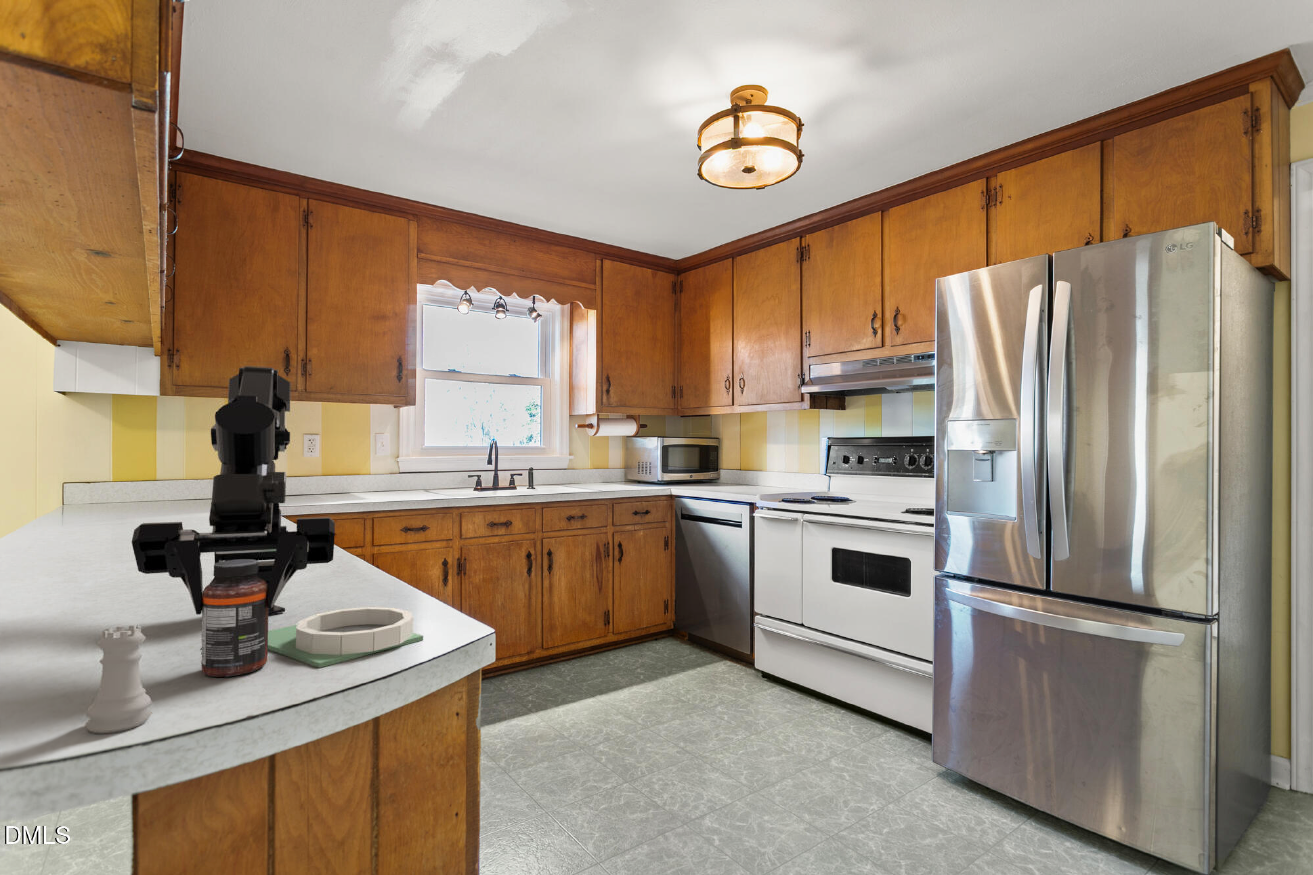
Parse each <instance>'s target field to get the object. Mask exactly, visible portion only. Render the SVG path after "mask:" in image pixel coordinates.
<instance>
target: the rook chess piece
mask: <svg viewBox="0 0 1313 875" xmlns="http://www.w3.org/2000/svg"><path fill="white" fill-rule="evenodd" d="M124 628H125V627H124V625H121V626H120V625H119V626H116V628H115V629H116V630H115V631H116V632H114V631H113V630H114V629H113V628H112V627H110V628H106V629H104V630H103V631H102V637H101V638H100V639H99V640H98V641H97V643H96V645H97V647H98V648H99V649H100V650H101V652H103V656H102V658H101V659H100V660H99V663H100V664H101V665H102V670H101V671H102V674H101V678H100V682H99V683H100V685H99V689H98V691H97V694H96V696H95V697H94V698H93V703H92V704H91V705H90V706H89V707H88V708H87V711H86V717H88V718H89V720H88V721H86V723H85V724H84V726H85V728H86V730H88V731H89V732H90V733H92V734H96V735H97V734H100V735H101V734H102V735H106V734H107V735H108V734H115V733H120V732H125V731H128V730H132V729H134V728H135V729H136V728H138V727H139V726H142V725H143V724H145V723H146V722H147V721H148V720H149V719H150V718H151V716H152V714H153V711H152V709H150V706H151V704H153V703H152V699H151V697H150V695H148V694H147V693H146V692H147V690H146V688H144V687H143V684H142V680H141V674H140V659H142V657H143V655H142V654H141V653H140V646H142V644H143V642H144V641H145V640H146V639H147V638H146V636H145V635H144V634H143V633H142V632H141V631H142V627H141V626H140V625H138V626H137V625H135V624H134V625H133V624H132V625H131V624H130V625H129V626H128V630H124Z"/></svg>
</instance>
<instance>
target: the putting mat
mask: <svg viewBox="0 0 1313 875" xmlns="http://www.w3.org/2000/svg"><path fill="white" fill-rule="evenodd" d="M296 627H297V624H293V625H289V626H285V627H279V628H276V629H271V630H268V651H269V650H270V651H271V652H275V653H277V654H281V655H283V656H285V657H289V658H292V659H294V660H296V661H300V662H302V663H305V664H308V665H310V666H313V667H316V668H319V669H320V668H323V667H327V666H331V665H335V664H338V663H339V664H340V663H343V662H347V661H350V660H353V659H357V658H360V657H361V658H362V657H365V656H368V655H372V654H375V653H376V654H377V653H379V652H383V651H386V650H390V649H394V648H398V647H401V646H405V645H409V644H412V643H417V642H419V641H424V635H422V634H419V633H414V632H413V633H412V637H410V638H409V639H407V640H406V641H404V642H403V643H401V644H399V645H395V646H391V647H387V648H384V649H380V650H376V651H371V652H362V653H353V654H344V655H341V654H340V655H331V654H312V653H308V652H305V651H302V650H299V649H296Z"/></svg>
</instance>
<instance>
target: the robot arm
mask: <svg viewBox="0 0 1313 875" xmlns="http://www.w3.org/2000/svg"><path fill="white" fill-rule="evenodd" d="M227 394H228V395H227V403H226V404H224V405H222V406H221V407H219V408H218V410H217V411H216V412H215V414H214V419H215V420H214V421H215V423H214V425H213V426H212V427H211V428H210V442H211V443H210V444H211V446H212V448H213V449H214V451H215V452H217V456H218V460H219V462H220V464H221V465H220V466H221V467H220V471H219V472H220V474H216V475H214V476H213V478H212V479H213V480H212V481H213V482H212V493H211V503H210V510H209V515H208V516H209V517H208V521H209V527H212V530H211V532H198V531H197V530H196V529H191V528H190V529H188V528H187V529H184V527H183V522H182V521H169V522H168V521H167V522H164V521H163V522H142V523H140V524H139V525H138V526H137V527H136V528H134V530H133V534H132V538H131V545H132V550H133V554H134V557H135V562H136V566H137V570H138V572H140V573H142V574H146V575H147V574H149V575H150V574H165V573H167V574H168V576H169V577H171V578H173V579H174V578H180V579H181V580H182V582H183V583H184V585H185V587H186V588H187V590H188V592H189V596H190V599H191V603H192V605H193V607H194V611H195V614H196V615H202V595H203V590H204V587H203V586H204V585H203V583H204V582H203V568H202V562H201V555H202V554H204V553H205V554H206V553H214V555H213V556H214V564H216V563H218V562H222V561H227V560H237V559H253V560H257V561H258V570H259V572H258V576H259V577H260V579H262V580H264V581H265V582H266V583H267V585H268V600H267V608H268V616H269V615H274V614H280V613H281V614H282V613H285V612H286V607H282V606H279V605H275V603H276V602H277V600H278V598H279V596H280V595H281V593H282V591H283V589H284V587H285V586H286V584H287V583H288V582H289V581H290V580H291V578H293V576H294V575H295V573H296V572H297V571H300V570H301V571H302V570H305V569H307V567H308V565H313V564H315V565H316V564H328V563H330V562H333V560H334V554H335V553H334V550H335V538H336V537H335V536H336V534H335V533H336V526H335V524H336V523H335V521H334V520H333V519H332V518H331V517H329V516H327V517H326V516H325V517H323V516H322V517H296V531H295V530H293V531H289V530H287V525H282V510H281V508H280V504H285V503H286V491H287V490H286V488H287V485H286V484H287V472H286V471H276V463H275V461H277V460H278V459H279V455H280V454H279V453H280V452H282V453H283V452H284V453H285V450H287V446H288V445H289V444H290V443H291V431H289V430H288V429H287V428H286V422H285V421H286V413H287V412H291V382H290V381H288V380H287V379H286V378H283V376H280V375H279V369H275V368H273V367H267V366H266V367H265V366H249V365H245V366H243V367H242V366H241V367H239V369H238V374H235V375H233V376H232V377H231V378H229V379H228V392H227Z"/></svg>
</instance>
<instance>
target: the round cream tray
mask: <svg viewBox="0 0 1313 875" xmlns="http://www.w3.org/2000/svg"><path fill="white" fill-rule="evenodd" d="M413 619H414V617H413V614H412V613H411V611H408V610H404V609H401V608H397V607H379V606H378V607H374V606H372V607H371V606H369V607H368V606H365V607H354V608H341V609H337V610H331V611H327V612H320V613H318V614H313V615H310V616H309V617H306V618H304V619H301V620H298V621H297V622H296V625H297V627H296V649H299V650H302V651H305V652H308V653H312V654H331V655H340V654H341V655H344V654H353V653H362V652H371V651H376V650H380V649H384V648H387V647H391V646H395V645H399V644H401V643H403V642H404V641H406V640H407V639H409V638H410V637H412V633H414V632H413V627H414V626H413V625H414V624H413V623H414V622H413V621H414V620H413Z"/></svg>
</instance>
